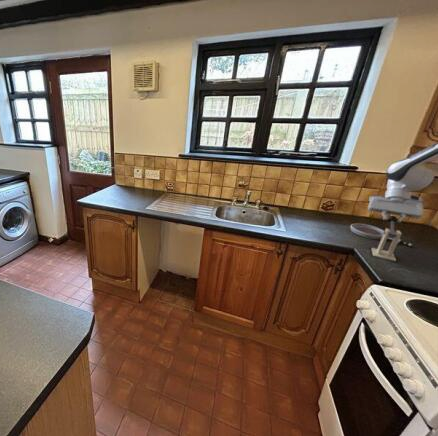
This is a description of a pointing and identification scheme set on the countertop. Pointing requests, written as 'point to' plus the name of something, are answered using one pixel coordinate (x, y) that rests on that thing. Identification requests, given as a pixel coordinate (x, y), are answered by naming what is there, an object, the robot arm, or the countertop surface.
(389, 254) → the white stand
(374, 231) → the frying pan
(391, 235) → the stove lever
